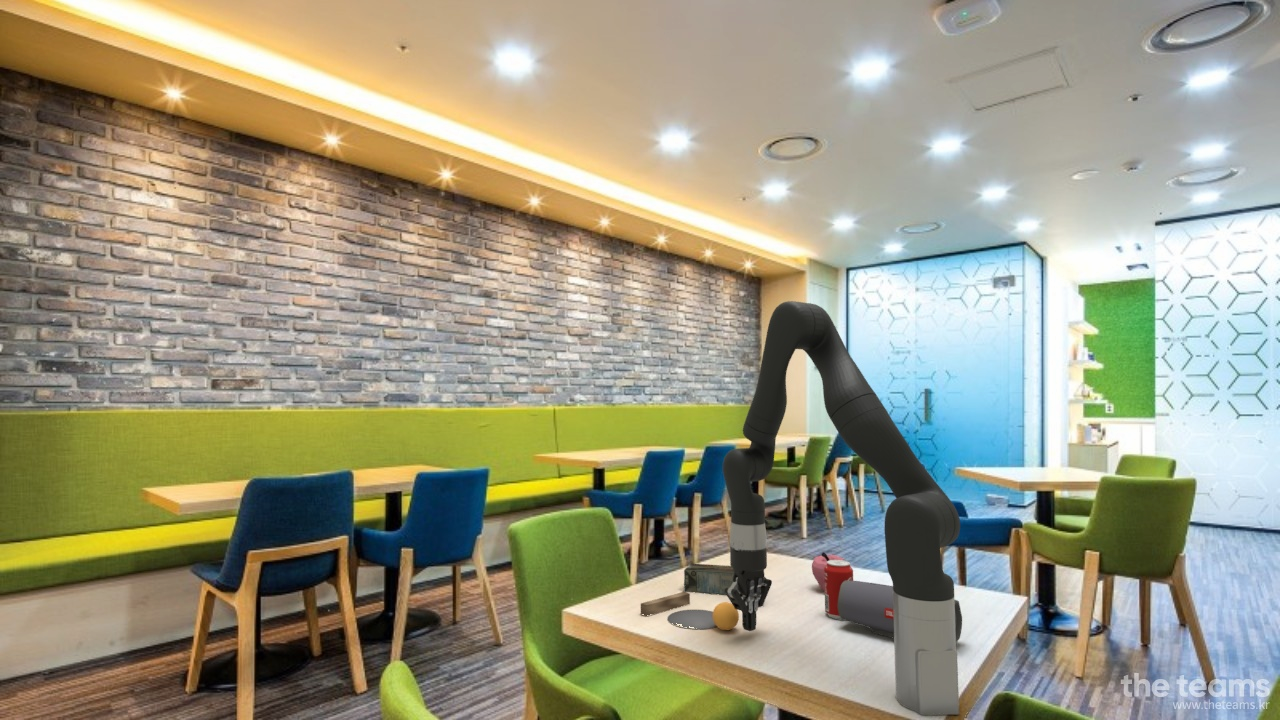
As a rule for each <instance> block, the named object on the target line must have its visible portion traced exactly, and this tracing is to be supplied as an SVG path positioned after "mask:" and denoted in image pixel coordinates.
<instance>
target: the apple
mask: <svg viewBox="0 0 1280 720" xmlns="http://www.w3.org/2000/svg"><path fill="white" fill-rule="evenodd" d="M829 560H843V561H845V558H844V557H840V556H838V555H835V554H829V555H828V554H826V553H825V552H824V551H823V552H821V555H818V556H815V557H814V559H813V561H812V562H811V571H812V575H813V576H814V579H815V581H816V583H818V586H819V587H820V589H821V590H822V591H823V592H825V586H824V567H825V566H826V565H827V561H829Z"/></svg>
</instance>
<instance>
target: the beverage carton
mask: <svg viewBox="0 0 1280 720" xmlns="http://www.w3.org/2000/svg"><path fill="white" fill-rule="evenodd" d="M683 574H684V575H683V576H684V578H683V579H684V580H683V585H684V587H683V588H684V592H686V593H693V592H695V594H704V593H705V594H706V595H708V594H709V595H717V594H719V595H720V596H727V595H726V593H725V588H726V587H728V588H730V587H731V585H732V584H733V580H732V579H733V575H734V570H733V568H732V567H731V565H723V564H722V565H721V564H719V565H718V564H705V563H704V564H702V563H690V564H689V565H688V566H687V567H686V568H685V569H684V570H683Z"/></svg>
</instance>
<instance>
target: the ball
mask: <svg viewBox="0 0 1280 720" xmlns="http://www.w3.org/2000/svg"><path fill="white" fill-rule="evenodd" d="M712 611H713V621H714V623H715V625H716V626H717V627H716V628H719V629H720V630H722V631H729V630H733V629H734V628H736V626H737V625H738V623H739V620H740V619H739V618H740V614H739V611H738V610H737V609H735V608H734V606H733V605H732V603H731V602H729V601H723V602H720V603H718V604H717V605H715V607H714V609H713V610H712Z"/></svg>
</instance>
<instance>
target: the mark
mask: <svg viewBox="0 0 1280 720" xmlns="http://www.w3.org/2000/svg"><path fill="white" fill-rule="evenodd" d="M667 621H669V622H670V623H673V624H674V625H677V624H682V626H683V627H687V628H689V626H690V627H694V628H695V629H694V630H698V629H700V630H710V629H715V628H718V627H717V626H716V625H715V623H714V621H713V610H708V609H707V610H705V609H683V610H677V611H674V612H672V613H670V614H669V615H668V616H667ZM669 622H668V623H669ZM670 623H669V624H670ZM676 623H677V624H676ZM674 625H673V626H674ZM679 626H680V625H679ZM696 628H697V629H696Z"/></svg>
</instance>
